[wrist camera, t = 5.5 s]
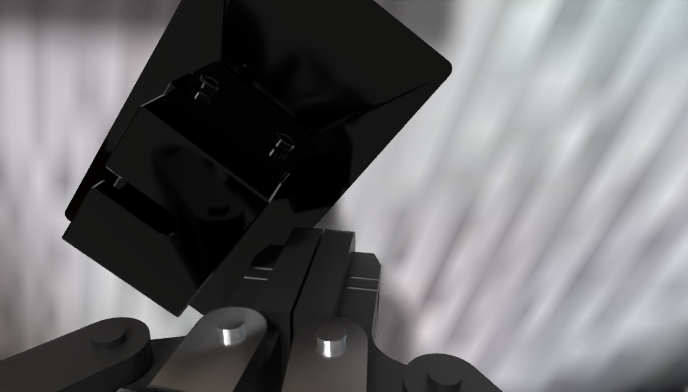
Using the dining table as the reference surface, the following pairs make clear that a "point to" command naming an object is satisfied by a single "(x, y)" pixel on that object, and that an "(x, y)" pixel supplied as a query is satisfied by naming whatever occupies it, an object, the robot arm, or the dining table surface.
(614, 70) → the dining table surface
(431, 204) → the dining table surface
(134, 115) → the black angular block
